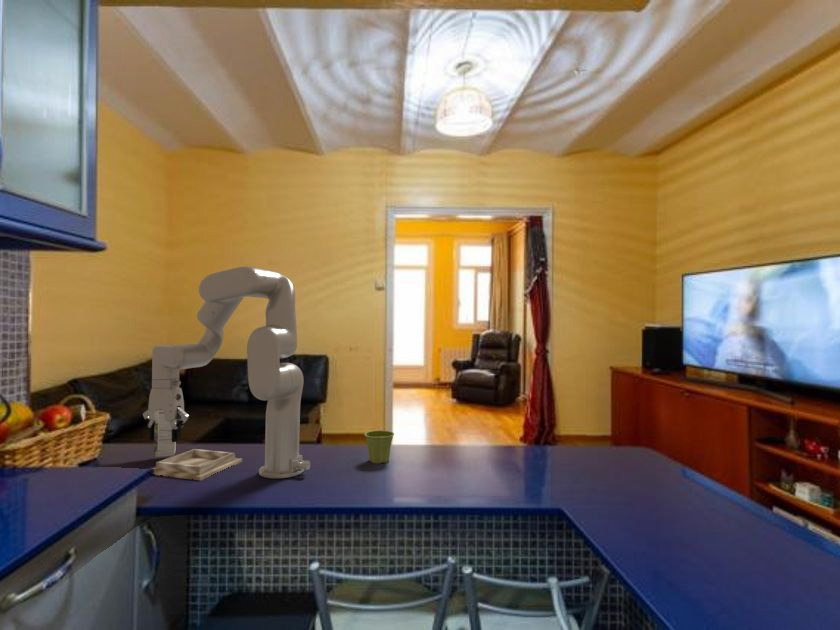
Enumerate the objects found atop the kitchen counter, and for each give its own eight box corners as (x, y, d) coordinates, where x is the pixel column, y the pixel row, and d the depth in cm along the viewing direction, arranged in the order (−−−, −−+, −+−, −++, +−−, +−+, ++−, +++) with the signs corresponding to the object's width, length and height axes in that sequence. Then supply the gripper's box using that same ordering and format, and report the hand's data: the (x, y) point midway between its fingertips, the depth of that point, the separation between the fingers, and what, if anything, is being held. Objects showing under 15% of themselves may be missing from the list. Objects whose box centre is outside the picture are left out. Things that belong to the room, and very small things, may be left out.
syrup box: (155, 453, 147) (155, 407, 147) (176, 451, 149) (176, 406, 150) (153, 458, 142) (153, 410, 142) (175, 455, 144) (175, 408, 145)
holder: (242, 461, 144) (242, 452, 144) (200, 480, 127) (200, 469, 127) (193, 456, 149) (193, 447, 149) (147, 473, 131) (147, 463, 131)
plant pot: (359, 463, 144) (359, 435, 144) (371, 455, 153) (371, 429, 153) (387, 466, 141) (387, 438, 141) (397, 458, 150) (398, 431, 150)
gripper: (197, 383, 148) (197, 439, 147) (153, 382, 152) (152, 436, 152) (179, 386, 140) (179, 445, 140) (133, 385, 145) (132, 441, 144)
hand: (165, 440), depth 146 cm, fingers closed on syrup box, 7 cm apart
